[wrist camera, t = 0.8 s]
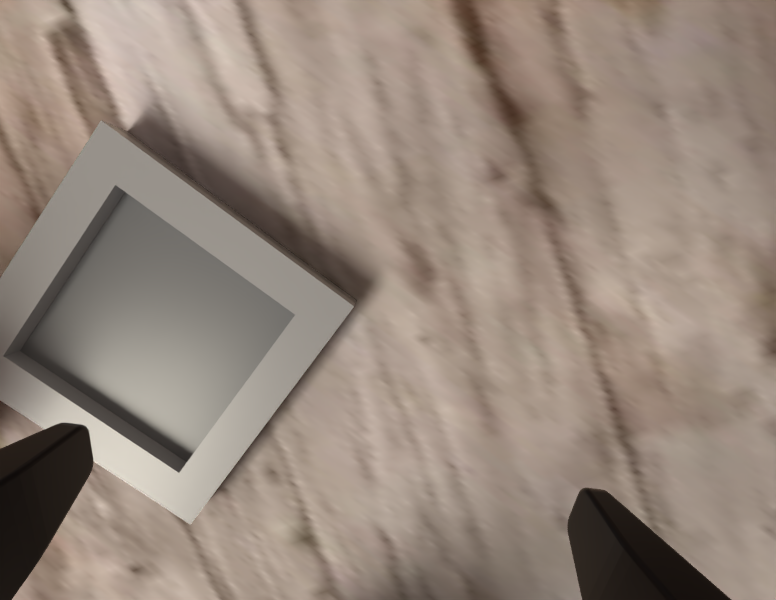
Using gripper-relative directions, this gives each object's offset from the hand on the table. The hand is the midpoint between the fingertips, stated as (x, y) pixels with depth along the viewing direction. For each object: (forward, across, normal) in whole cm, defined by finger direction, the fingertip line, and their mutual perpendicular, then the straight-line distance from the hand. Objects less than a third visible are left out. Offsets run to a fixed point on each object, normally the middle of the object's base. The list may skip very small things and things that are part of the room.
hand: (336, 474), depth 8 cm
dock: (+14, +10, +6) cm, 18 cm away
